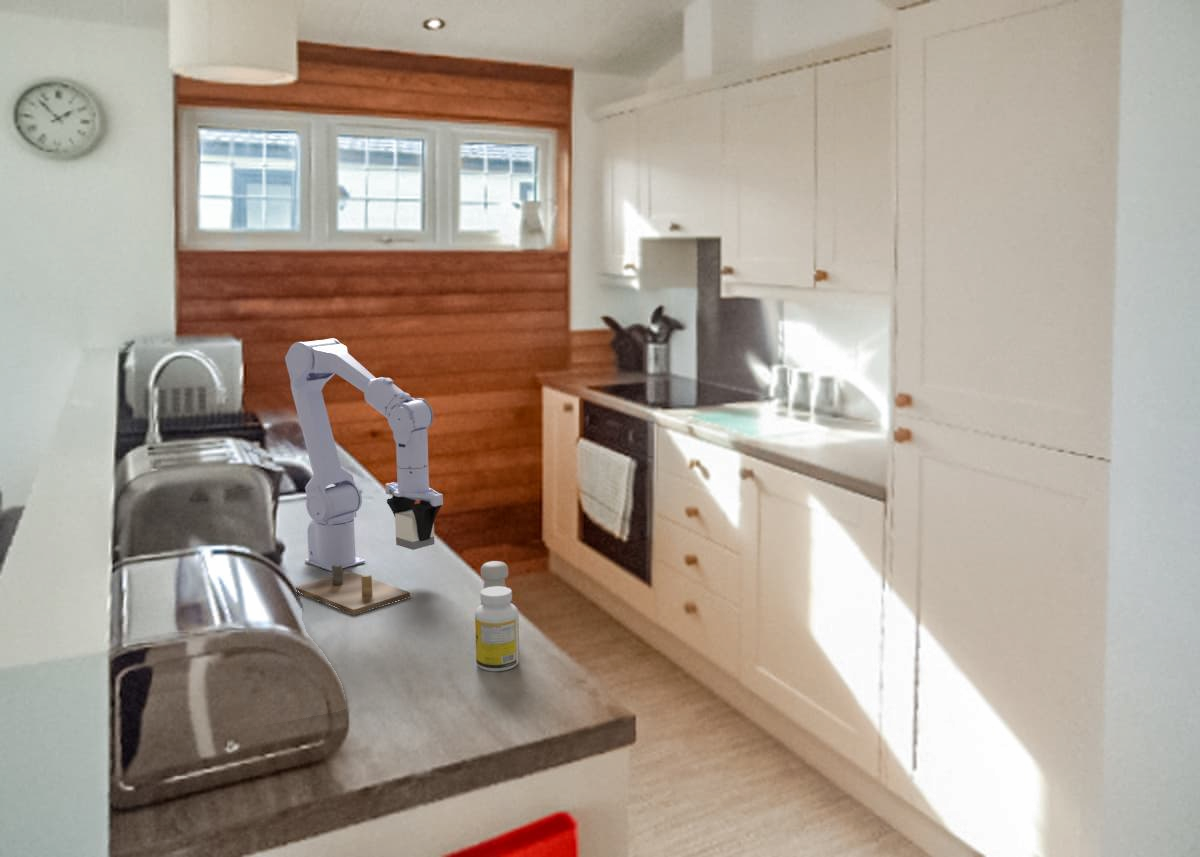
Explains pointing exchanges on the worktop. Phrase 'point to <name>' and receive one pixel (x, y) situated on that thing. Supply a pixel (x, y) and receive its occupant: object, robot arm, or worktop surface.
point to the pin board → (352, 591)
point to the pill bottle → (497, 630)
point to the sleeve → (409, 531)
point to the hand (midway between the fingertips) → (415, 537)
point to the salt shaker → (494, 574)
